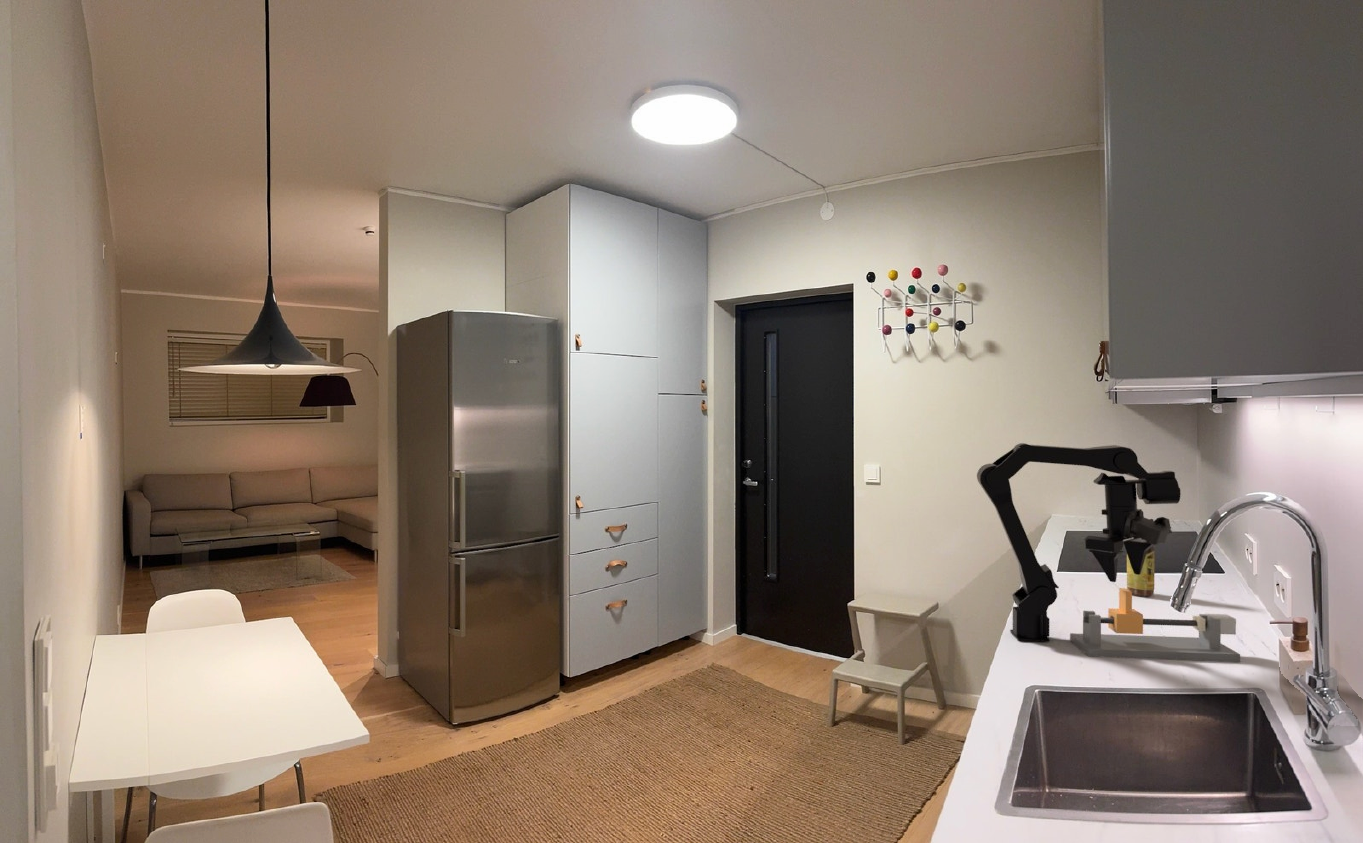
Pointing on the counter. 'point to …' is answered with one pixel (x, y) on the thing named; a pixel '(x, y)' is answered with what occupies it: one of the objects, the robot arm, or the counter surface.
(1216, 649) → the stand
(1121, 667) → the counter surface
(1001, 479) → the robot arm
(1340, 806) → the counter surface
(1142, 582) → the sauce bottle
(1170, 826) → the counter surface
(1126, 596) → the orange slider block
